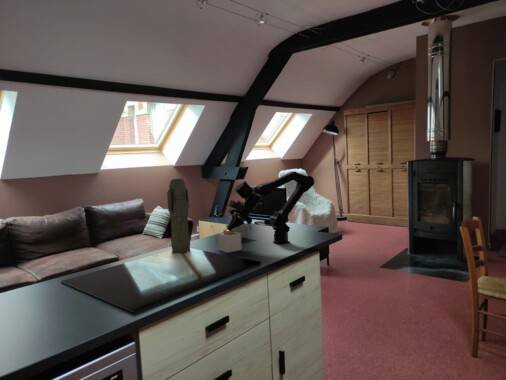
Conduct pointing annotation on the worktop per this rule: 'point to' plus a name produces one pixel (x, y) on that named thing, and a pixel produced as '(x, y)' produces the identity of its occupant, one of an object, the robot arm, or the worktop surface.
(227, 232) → the plunger
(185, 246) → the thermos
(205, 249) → the worktop surface
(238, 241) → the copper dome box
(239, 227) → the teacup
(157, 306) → the worktop surface
